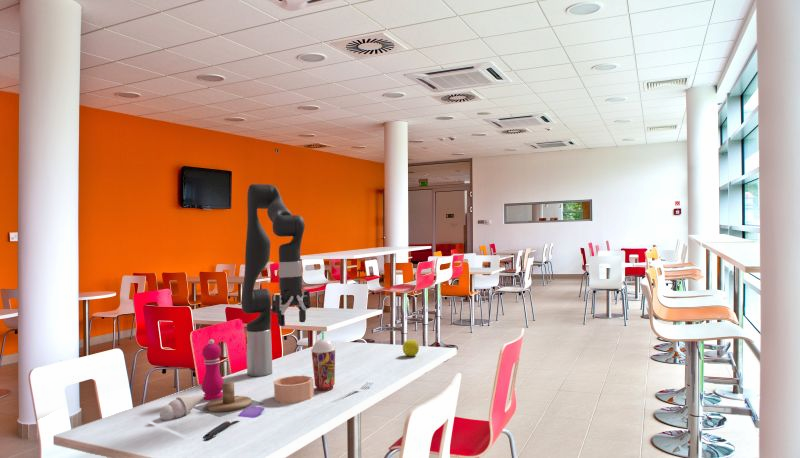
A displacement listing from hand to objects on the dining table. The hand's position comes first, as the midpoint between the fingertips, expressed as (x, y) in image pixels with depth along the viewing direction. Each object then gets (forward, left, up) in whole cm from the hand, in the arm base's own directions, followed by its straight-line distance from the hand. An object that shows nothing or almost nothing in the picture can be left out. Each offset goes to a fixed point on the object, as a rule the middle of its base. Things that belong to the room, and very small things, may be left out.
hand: (292, 323), depth 189 cm
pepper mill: (-22, -17, -25) cm, 37 cm away
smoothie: (0, +13, -25) cm, 28 cm away
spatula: (+8, -29, -25) cm, 39 cm away
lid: (-9, -19, -24) cm, 32 cm away
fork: (+13, +12, -25) cm, 31 cm away
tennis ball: (-9, +69, -25) cm, 74 cm away
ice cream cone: (-13, -32, -25) cm, 43 cm away
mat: (-9, -19, -24) cm, 32 cm away
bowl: (+1, -1, -24) cm, 24 cm away
